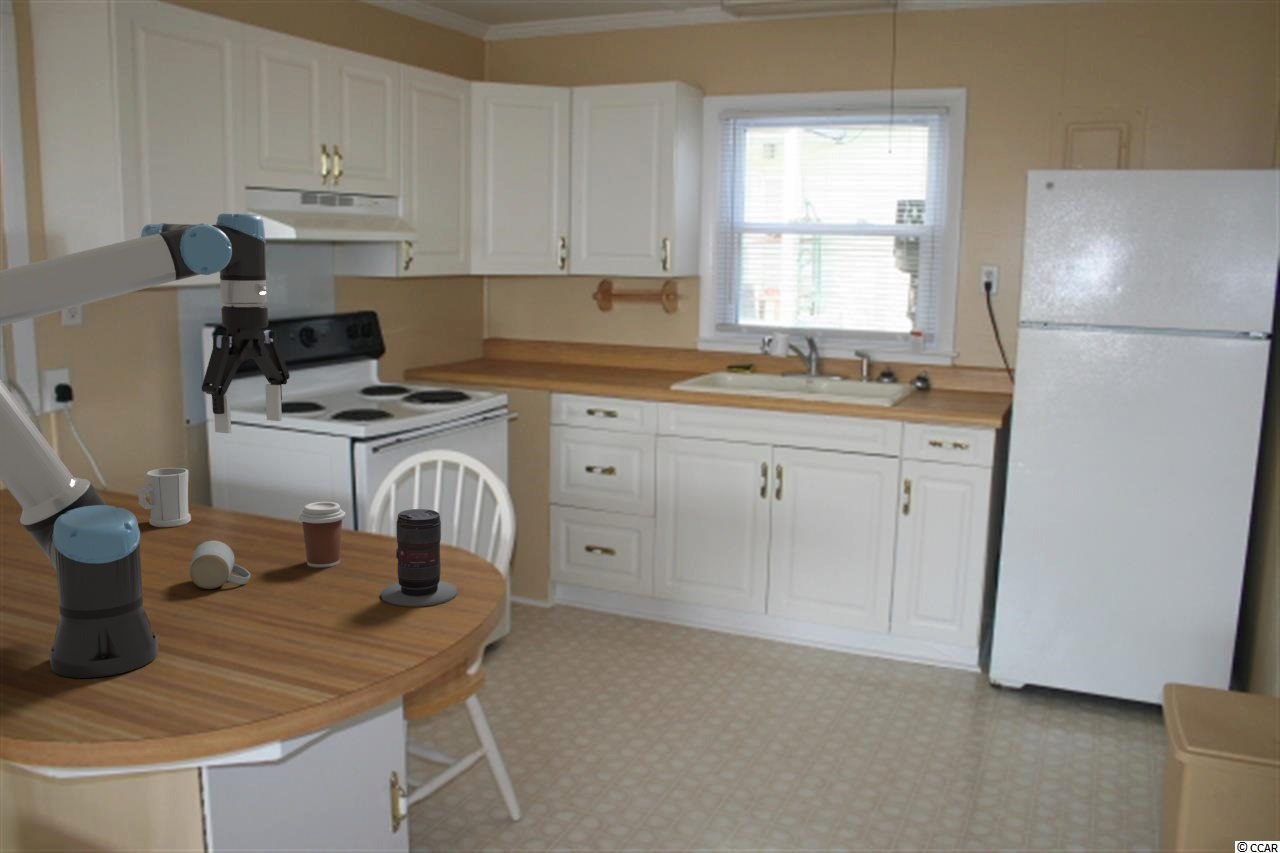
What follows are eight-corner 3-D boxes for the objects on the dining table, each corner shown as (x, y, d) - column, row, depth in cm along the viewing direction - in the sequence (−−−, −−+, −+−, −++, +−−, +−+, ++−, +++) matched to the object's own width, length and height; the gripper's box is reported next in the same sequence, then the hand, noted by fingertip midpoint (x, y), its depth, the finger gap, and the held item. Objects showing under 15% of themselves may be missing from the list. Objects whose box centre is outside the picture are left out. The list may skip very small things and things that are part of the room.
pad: (433, 610, 195) (433, 607, 195) (366, 601, 199) (366, 597, 199) (470, 587, 208) (470, 584, 208) (406, 579, 213) (406, 575, 212)
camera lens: (414, 601, 198) (413, 521, 195) (389, 590, 203) (387, 513, 201) (450, 591, 204) (449, 513, 201) (424, 581, 209) (423, 506, 207)
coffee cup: (312, 572, 216) (310, 513, 214) (292, 561, 222) (290, 504, 220) (354, 564, 222) (353, 506, 219) (334, 553, 228) (332, 498, 226)
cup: (178, 530, 244) (175, 478, 242) (137, 529, 244) (134, 477, 242) (197, 518, 254) (195, 468, 252) (158, 517, 254) (156, 467, 252)
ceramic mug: (188, 592, 202) (187, 552, 201) (193, 579, 210) (192, 540, 209) (249, 589, 205) (248, 550, 204) (251, 576, 213) (250, 538, 212)
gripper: (212, 309, 174) (218, 439, 178) (307, 302, 198) (310, 417, 201) (174, 307, 177) (181, 436, 180) (272, 300, 200) (276, 414, 204)
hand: (249, 426), depth 191 cm, fingers open, 13 cm apart
